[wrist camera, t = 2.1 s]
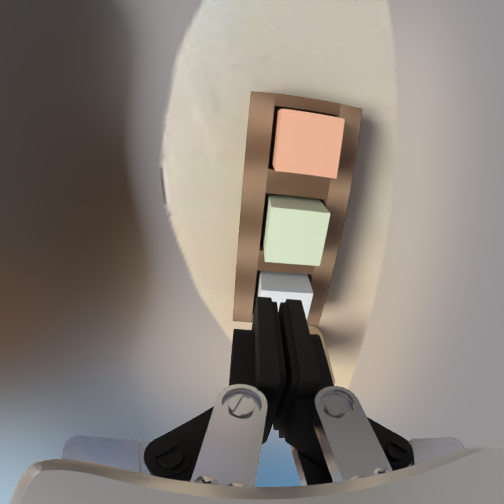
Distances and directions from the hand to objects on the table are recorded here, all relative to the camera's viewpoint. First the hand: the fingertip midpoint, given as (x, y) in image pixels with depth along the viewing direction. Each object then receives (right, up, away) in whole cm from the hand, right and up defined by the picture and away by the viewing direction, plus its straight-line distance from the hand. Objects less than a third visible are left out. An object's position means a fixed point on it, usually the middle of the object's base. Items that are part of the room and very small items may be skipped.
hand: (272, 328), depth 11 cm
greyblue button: (+2, -1, +21) cm, 21 cm away
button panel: (+3, +7, +20) cm, 21 cm away
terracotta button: (+4, +13, +14) cm, 20 cm away
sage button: (+3, +6, +17) cm, 19 cm away
